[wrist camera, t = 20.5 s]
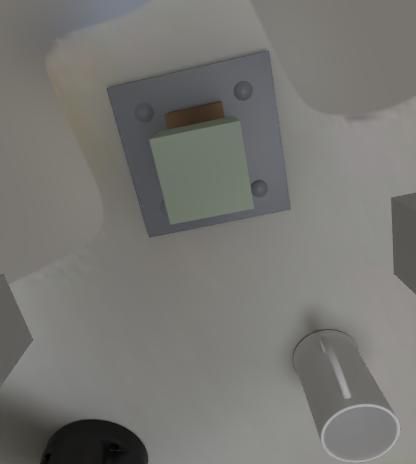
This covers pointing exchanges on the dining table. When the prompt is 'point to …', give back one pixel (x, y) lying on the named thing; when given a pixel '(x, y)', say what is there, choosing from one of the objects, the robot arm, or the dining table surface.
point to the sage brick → (202, 170)
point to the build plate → (234, 104)
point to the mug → (344, 398)
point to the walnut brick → (194, 115)
